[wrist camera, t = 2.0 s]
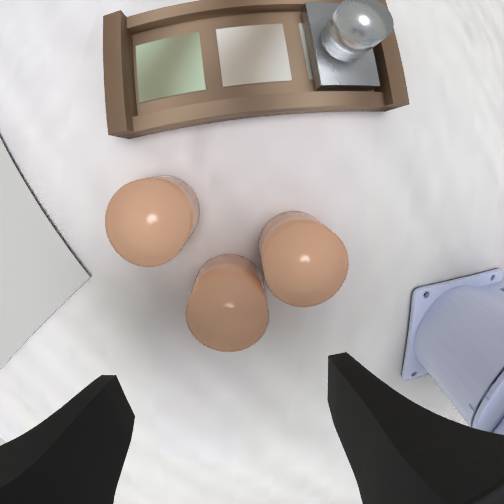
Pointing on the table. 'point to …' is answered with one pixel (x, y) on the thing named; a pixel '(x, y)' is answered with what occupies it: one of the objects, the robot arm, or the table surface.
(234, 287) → the peach rounded cylinder
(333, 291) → the peach domed capsule
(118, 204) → the peach domed cylinder
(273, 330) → the table surface
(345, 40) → the slider
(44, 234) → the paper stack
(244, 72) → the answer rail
